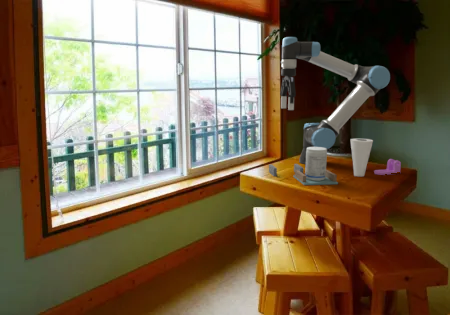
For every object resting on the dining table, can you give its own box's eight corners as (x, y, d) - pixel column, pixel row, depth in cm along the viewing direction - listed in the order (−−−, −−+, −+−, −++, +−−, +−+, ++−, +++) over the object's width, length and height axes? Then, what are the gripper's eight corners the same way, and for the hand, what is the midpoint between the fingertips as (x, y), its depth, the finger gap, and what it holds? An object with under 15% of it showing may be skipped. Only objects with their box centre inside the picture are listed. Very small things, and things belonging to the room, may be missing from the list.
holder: (296, 171, 205) (297, 163, 204) (303, 175, 195) (303, 167, 194) (268, 171, 203) (269, 164, 202) (273, 176, 193) (273, 168, 192)
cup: (359, 178, 190) (362, 141, 186) (343, 174, 199) (345, 139, 196) (375, 176, 194) (377, 140, 191) (358, 172, 204) (361, 138, 200)
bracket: (392, 171, 207) (393, 158, 206) (400, 173, 202) (401, 160, 201) (371, 172, 203) (372, 159, 202) (379, 175, 198) (380, 161, 197)
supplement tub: (305, 175, 191) (307, 146, 188) (325, 177, 188) (327, 147, 186) (303, 180, 182) (305, 149, 179) (324, 182, 179) (326, 150, 176)
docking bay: (324, 176, 194) (325, 168, 194) (337, 184, 179) (338, 176, 178) (293, 176, 192) (293, 169, 191) (304, 185, 177) (304, 176, 176)
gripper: (275, 69, 216) (274, 107, 220) (288, 67, 192) (286, 110, 195) (288, 69, 217) (287, 107, 221) (303, 67, 193) (301, 110, 196)
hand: (287, 109), depth 208 cm, fingers open, 13 cm apart
